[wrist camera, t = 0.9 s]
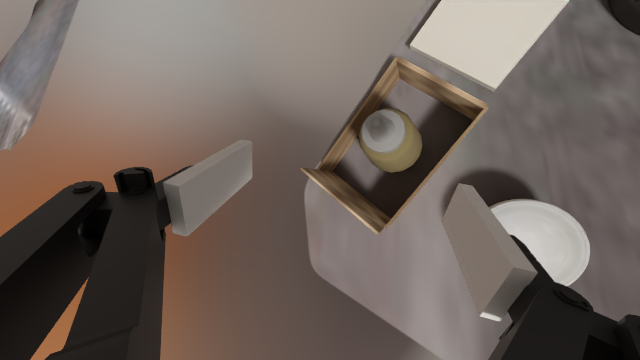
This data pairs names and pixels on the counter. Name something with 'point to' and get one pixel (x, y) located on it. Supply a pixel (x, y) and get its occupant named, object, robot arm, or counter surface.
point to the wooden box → (394, 72)
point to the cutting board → (484, 35)
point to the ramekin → (547, 236)
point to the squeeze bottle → (390, 140)
